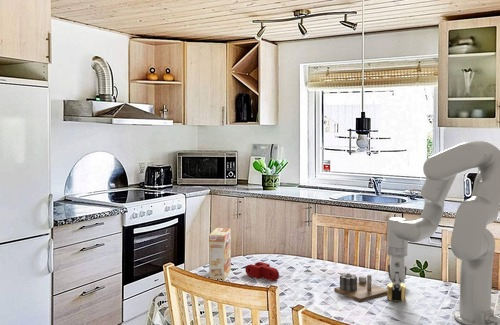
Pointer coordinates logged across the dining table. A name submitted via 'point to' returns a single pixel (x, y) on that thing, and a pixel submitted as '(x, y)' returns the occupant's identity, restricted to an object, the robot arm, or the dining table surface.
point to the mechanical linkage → (262, 271)
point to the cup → (389, 271)
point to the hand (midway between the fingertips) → (396, 296)
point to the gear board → (359, 287)
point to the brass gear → (389, 291)
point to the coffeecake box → (220, 253)
